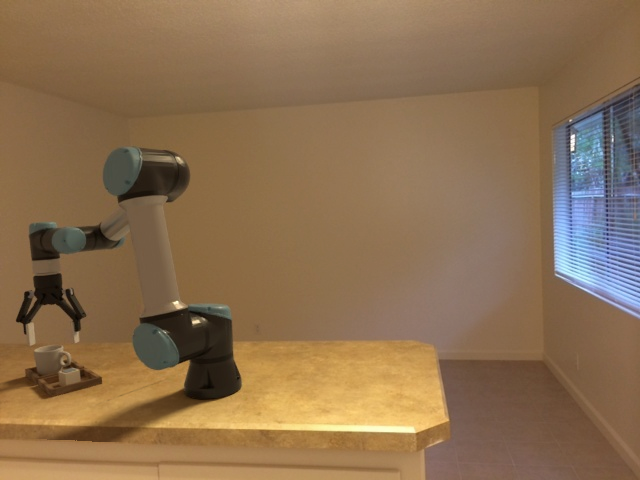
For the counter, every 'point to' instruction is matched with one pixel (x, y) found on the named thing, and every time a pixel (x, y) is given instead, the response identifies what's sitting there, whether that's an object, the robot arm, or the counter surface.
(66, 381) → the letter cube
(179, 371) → the counter surface
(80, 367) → the tray
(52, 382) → the tray
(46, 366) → the cup
